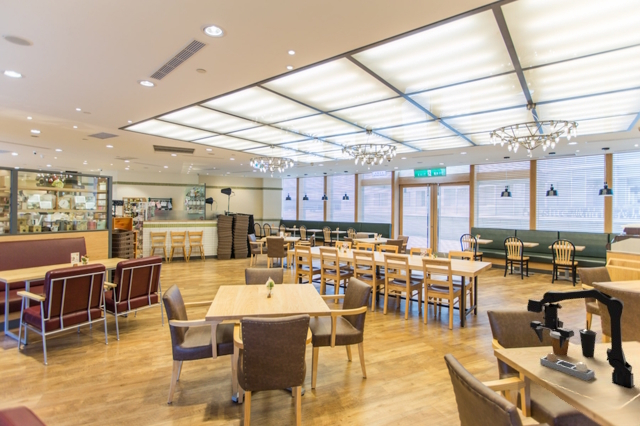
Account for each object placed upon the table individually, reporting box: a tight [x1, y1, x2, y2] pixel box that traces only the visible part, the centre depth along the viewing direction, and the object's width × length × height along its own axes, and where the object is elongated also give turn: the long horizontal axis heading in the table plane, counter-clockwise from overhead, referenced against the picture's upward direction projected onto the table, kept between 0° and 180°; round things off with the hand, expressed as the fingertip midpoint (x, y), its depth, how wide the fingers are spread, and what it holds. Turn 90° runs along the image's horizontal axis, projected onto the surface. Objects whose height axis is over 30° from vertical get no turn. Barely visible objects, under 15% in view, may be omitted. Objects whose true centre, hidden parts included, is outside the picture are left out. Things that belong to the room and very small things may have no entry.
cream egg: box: [575, 361, 588, 373], centre depth 159 cm, size 4×4×6 cm
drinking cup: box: [578, 320, 597, 359], centre depth 183 cm, size 8×8×20 cm
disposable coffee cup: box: [549, 330, 571, 357], centre depth 185 cm, size 10×10×12 cm
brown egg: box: [546, 352, 558, 363], centre depth 170 cm, size 4×4×6 cm
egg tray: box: [539, 355, 596, 381], centre depth 164 cm, size 21×7×4 cm, turn 30°
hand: (551, 345), depth 170 cm, fingers open, 9 cm apart
